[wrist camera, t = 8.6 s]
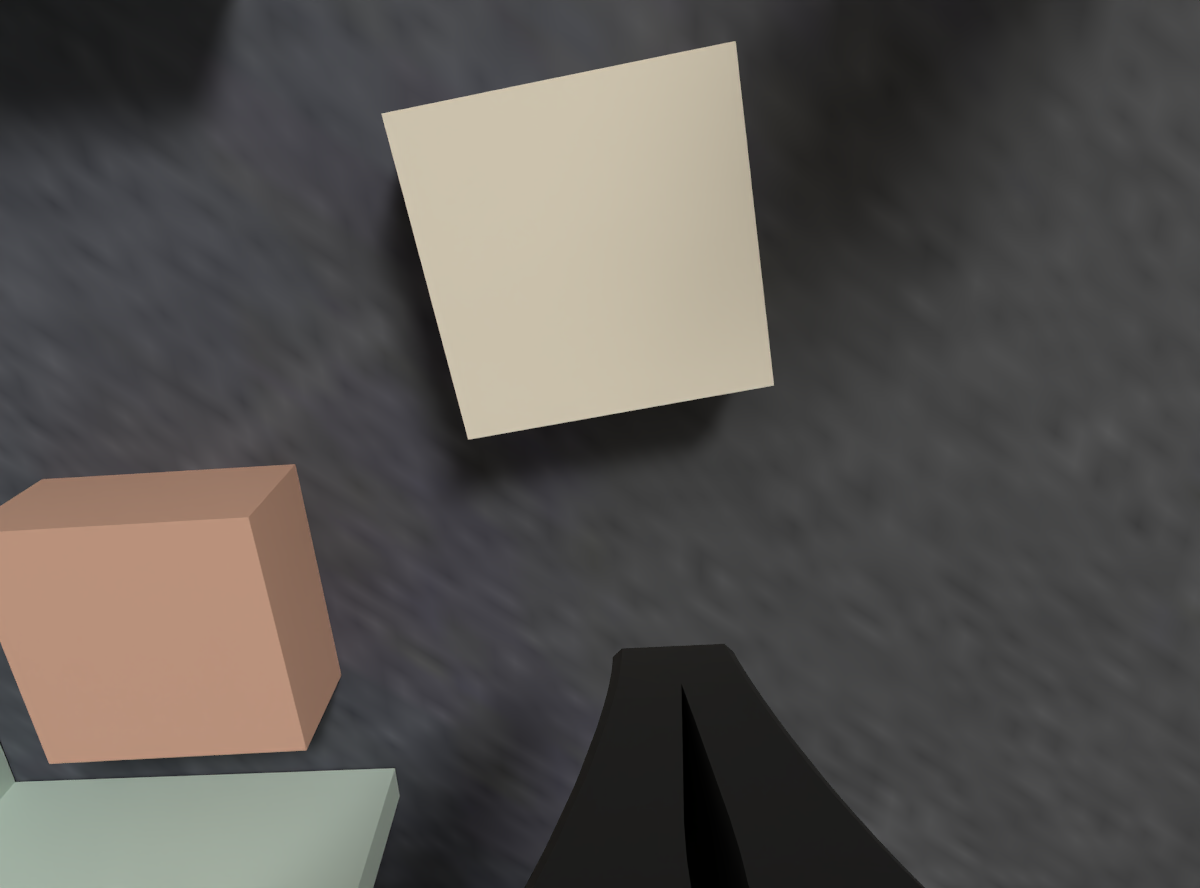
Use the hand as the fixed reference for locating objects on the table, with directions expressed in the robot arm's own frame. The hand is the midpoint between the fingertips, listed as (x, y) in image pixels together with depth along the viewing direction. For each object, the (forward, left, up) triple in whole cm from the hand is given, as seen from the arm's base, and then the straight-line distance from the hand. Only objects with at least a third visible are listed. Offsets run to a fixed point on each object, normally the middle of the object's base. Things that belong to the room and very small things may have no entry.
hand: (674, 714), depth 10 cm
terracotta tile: (-4, +11, -10) cm, 15 cm away
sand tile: (+4, +1, -10) cm, 11 cm away
